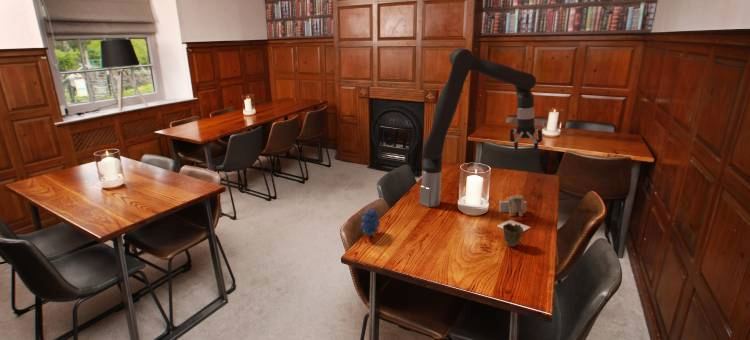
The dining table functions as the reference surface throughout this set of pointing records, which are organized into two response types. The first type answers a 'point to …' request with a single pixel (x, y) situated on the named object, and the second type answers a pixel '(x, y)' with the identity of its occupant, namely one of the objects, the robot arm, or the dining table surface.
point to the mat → (514, 225)
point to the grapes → (370, 222)
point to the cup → (512, 234)
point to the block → (505, 208)
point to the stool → (519, 202)
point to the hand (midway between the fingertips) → (526, 150)
